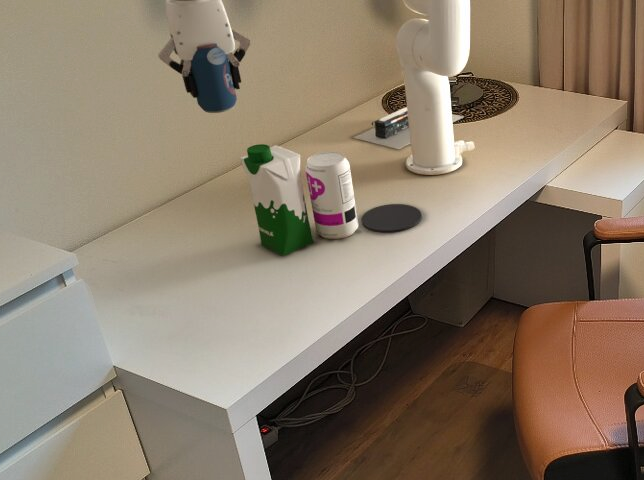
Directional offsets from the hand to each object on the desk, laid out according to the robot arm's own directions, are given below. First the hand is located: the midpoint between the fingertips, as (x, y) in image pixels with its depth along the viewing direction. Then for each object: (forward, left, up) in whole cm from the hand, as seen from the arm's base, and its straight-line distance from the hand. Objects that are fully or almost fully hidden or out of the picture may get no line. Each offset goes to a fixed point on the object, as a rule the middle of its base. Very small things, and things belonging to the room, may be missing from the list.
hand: (215, 90), depth 166 cm
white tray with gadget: (-50, -32, -28) cm, 65 cm away
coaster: (-26, +14, -27) cm, 40 cm away
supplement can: (-15, +13, -28) cm, 34 cm away
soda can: (0, 0, -3) cm, 3 cm away
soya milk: (-5, +13, -28) cm, 31 cm away
